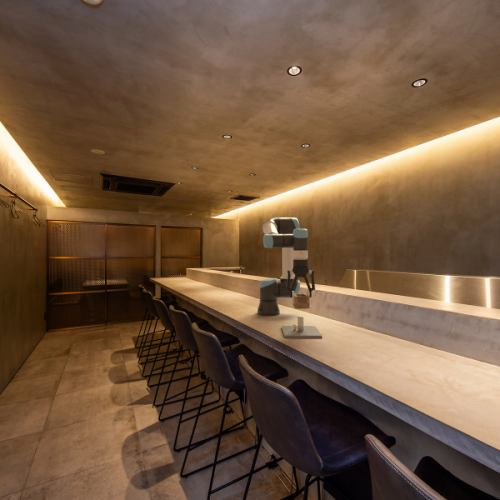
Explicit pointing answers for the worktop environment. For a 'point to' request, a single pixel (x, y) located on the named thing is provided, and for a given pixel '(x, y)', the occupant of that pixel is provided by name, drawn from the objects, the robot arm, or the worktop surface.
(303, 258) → the robot arm
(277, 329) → the worktop surface
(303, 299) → the open wooden box
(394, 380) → the worktop surface
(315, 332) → the base
